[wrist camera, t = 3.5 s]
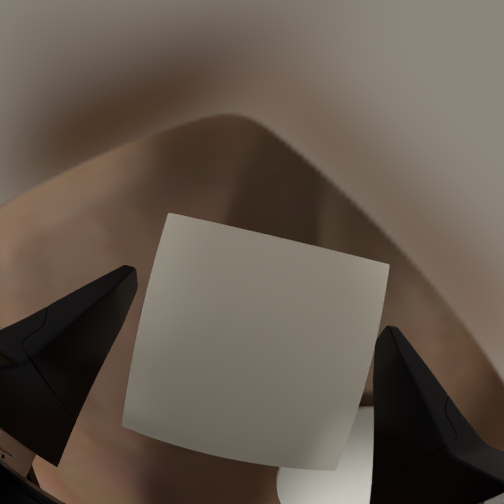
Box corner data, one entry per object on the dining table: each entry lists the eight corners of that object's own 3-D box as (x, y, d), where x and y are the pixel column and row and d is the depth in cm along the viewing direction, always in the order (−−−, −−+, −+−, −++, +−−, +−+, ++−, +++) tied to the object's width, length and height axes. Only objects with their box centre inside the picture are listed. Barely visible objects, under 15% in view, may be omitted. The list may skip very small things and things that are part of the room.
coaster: (399, 505, 14) (403, 509, 13) (271, 525, 13) (271, 532, 13) (426, 395, 15) (432, 398, 15) (281, 411, 15) (282, 416, 14)
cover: (289, 388, 16) (335, 470, 6) (186, 365, 16) (121, 426, 6) (312, 288, 17) (389, 264, 7) (210, 264, 17) (168, 212, 7)
